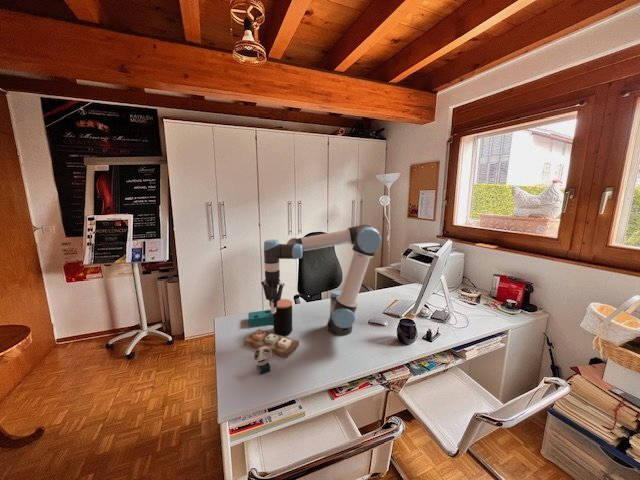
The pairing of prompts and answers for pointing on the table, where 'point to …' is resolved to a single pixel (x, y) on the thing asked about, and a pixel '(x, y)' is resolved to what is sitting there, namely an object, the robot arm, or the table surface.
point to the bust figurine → (262, 364)
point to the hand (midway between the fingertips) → (273, 312)
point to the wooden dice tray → (274, 348)
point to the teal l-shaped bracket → (260, 318)
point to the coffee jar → (283, 317)
